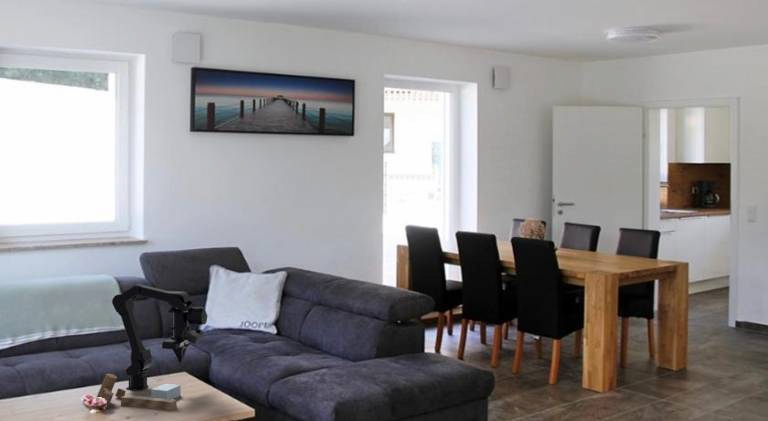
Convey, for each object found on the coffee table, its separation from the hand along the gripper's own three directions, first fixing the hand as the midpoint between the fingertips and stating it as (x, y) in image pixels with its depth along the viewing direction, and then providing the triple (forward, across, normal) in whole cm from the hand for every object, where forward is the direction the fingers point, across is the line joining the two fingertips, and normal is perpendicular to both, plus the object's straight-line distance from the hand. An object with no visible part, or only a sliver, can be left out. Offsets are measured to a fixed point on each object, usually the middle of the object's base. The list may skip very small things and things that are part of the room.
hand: (181, 362), depth 319 cm
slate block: (+12, -11, 0) cm, 16 cm away
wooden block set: (+12, -24, +17) cm, 32 cm away
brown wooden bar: (+12, -23, 0) cm, 26 cm away
